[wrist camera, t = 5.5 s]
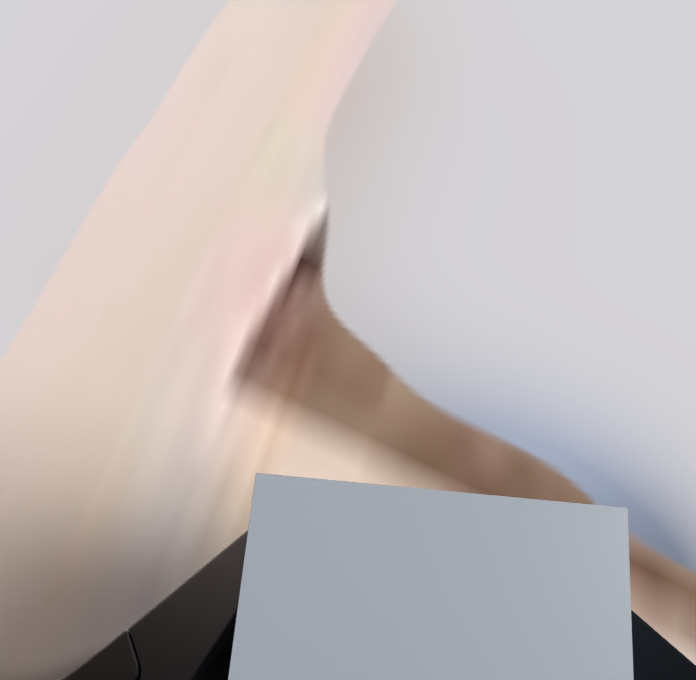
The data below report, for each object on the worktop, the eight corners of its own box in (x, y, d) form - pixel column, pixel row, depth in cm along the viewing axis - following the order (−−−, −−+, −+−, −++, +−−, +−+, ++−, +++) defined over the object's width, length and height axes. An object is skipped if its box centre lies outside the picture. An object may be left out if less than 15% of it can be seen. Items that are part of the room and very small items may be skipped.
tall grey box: (453, 693, 16) (645, 1008, 5) (301, 677, 16) (192, 948, 5) (460, 526, 17) (626, 507, 6) (319, 513, 17) (256, 472, 7)
